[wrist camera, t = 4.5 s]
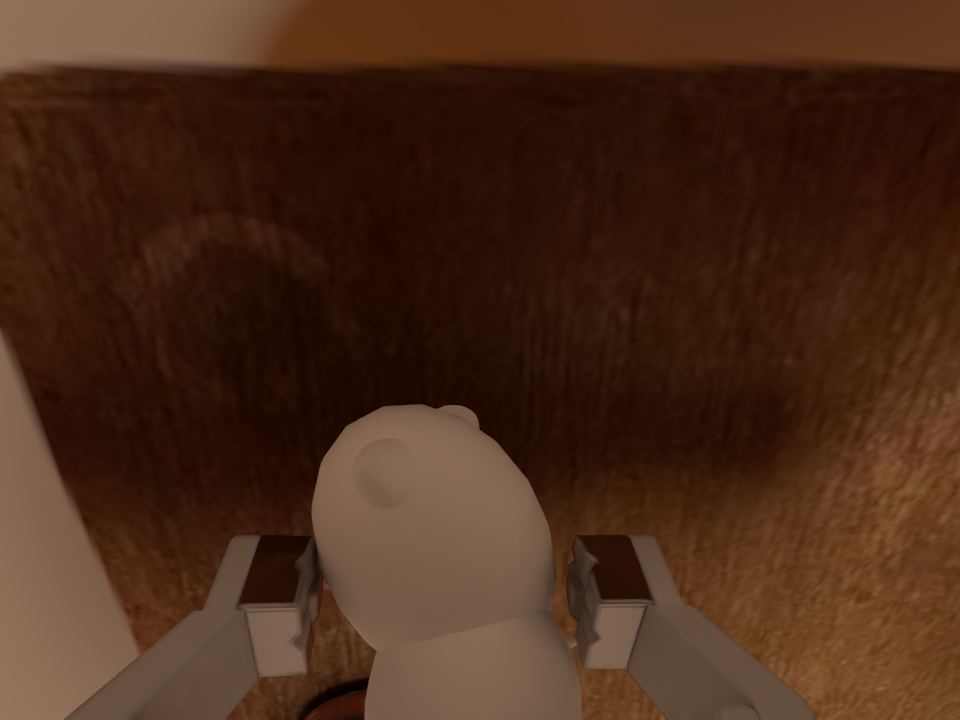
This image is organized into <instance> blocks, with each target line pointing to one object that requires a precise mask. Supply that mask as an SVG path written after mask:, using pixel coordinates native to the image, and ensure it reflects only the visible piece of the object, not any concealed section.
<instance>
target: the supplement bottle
mask: <svg viewBox="0 0 960 720" xmlns="http://www.w3.org/2000/svg"><path fill="white" fill-rule="evenodd" d="M366 694H367V689H361V690H357V691H353V692H350V693H348V694H344V695H341V696H338V697H336V698H333V699H331V700H329V701H327V702H325V703H323V704H321V705H320V706H318V707H317V708H315V709H314V710H313V711H311V712H310V713H309V714H308V715H307V716H306V717H305V718H304V720H364V717H365V700H366Z"/></svg>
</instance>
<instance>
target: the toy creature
mask: <svg viewBox="0 0 960 720" xmlns="http://www.w3.org/2000/svg"><path fill="white" fill-rule="evenodd" d="M311 515H312V522H313V529H314V536H315V541H316V549H317V556H318V561H319V565H320V567H321V570H322V572H323V574H324V576H325V578H326V581H327V583H328V585H329V587H330V590H331V592H332V594H333V596H334V598H335V601H336V603H337V604H338V606H339V608H340V610H341V612H342V613H343V614H344V615H345V617H346V618H347V619H348V620H349V622H350V623H351V624H352V625H353V626H354V628H355V629H356V630H357V631H358V633H359V634H360V635H361V636H362V638H363V639H364V640H365V641H366V642H367V643H368V644H369V645H370V646H371V647H373V648H374V649H375V650H376V651H377V652H376V656H375V659H374V662H373V666H372V670H371V674H370V678H369V682H368V688H367V694H366V700H365V717H364V720H582V707H581V690H580V683H579V677H578V672H577V668H576V664H575V661H574V657H573V654H572V651H571V649H570V648H571V647H573V646H575V645H577V642H576V638H573V637H569V636H565V635H564V634H563V632H562V631H561V629H560V627H559V626H558V624H557V622H556V621H555V619H554V618H553V616H552V615H551V613H550V612H551V607H552V600H553V594H554V587H555V580H556V568H555V561H554V554H553V548H552V541H551V535H550V529H549V525H548V523H547V520H546V518H545V516H544V513H543V511H542V509H541V507H540V505H539V502H538V500H537V498H536V496H535V494H534V492H533V489H532V487H531V485H530V483H529V481H528V479H527V478H526V477H525V476H524V474H523V473H522V472H521V471H520V470H519V468H518V467H517V466H516V465H515V464H514V462H513V461H512V460H511V459H510V458H509V456H508V455H507V454H506V453H505V452H504V450H503V449H502V448H501V447H500V445H499V444H498V443H497V442H496V441H495V440H493V439H492V438H491V437H489V436H488V435H486V434H485V433H483V432H482V431H481V430H479V422H478V418H477V417H476V415H475V413H473V412H472V411H471V410H470V409H468V408H466V407H463V406H458V405H448V406H443V407H441V408H438V409H435V408H432V407H429V406H425V405H422V404H417V405H399V406H383V407H381V408H379V409H377V410H376V411H374V412H372V413H370V414H368V415H366V416H364V417H362V418H360V419H358V420H357V421H355V422H353V423H351V424H349V425H348V426H346V427H345V429H344V430H343V431H342V433H341V434H340V436H339V437H338V438H337V440H336V441H335V442H334V444H333V445H332V447H331V448H330V449H329V451H328V452H327V453H326V455H325V456H324V458H323V460H322V462H321V464H320V469H319V473H318V478H317V483H316V487H315V492H314V497H313V501H312V512H311Z"/></svg>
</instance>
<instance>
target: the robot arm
mask: <svg viewBox="0 0 960 720" xmlns="http://www.w3.org/2000/svg"><path fill="white" fill-rule="evenodd" d="M572 552H573V556H574V561H573V562H572V563H570V564H569V565H568V572H567V581H566V592H567V600H568V606H569V611H570V615H571V616H572V617H573V618H574V619H575V620H576V621H577V622H578V625H577V630H576V634H575V638H576V642H577V646H578V650H579V655H580V659H581V663H582V667H583V669H628V670H627V672H628V673H629V674H630V676H631V677H632V678H633V679H634V680H635V682H636V683H637V684H638V685H639V687H640V688H641V689H642V690H643V691H644V693H645V694H646V695H647V696H648V697H649V699H650V700H651V701H652V702H653V703H654V705H655V706H656V707H657V708H658V709H659V711H660V712H661V713H662V714H663V715H664V717H665V718H666V719H667V720H816V718H815V716H814V715H813V713H812V711H811V709H810V707H809V705H808V704H807V702H806V700H805V699H804V698H803V697H802V696H801V695H799V694H798V693H797V692H796V691H795V690H793V689H792V688H791V687H790V686H789V685H787V684H786V683H785V682H784V681H783V680H781V679H780V678H779V677H778V676H777V675H775V674H774V673H773V672H772V671H771V670H769V669H768V668H767V667H766V666H765V665H763V664H762V663H761V662H760V661H759V660H757V659H756V658H755V657H754V656H753V655H751V654H750V653H749V652H748V651H747V650H745V649H744V648H743V647H742V646H741V645H739V644H738V643H737V642H736V641H735V640H733V639H732V638H731V637H730V636H729V635H727V634H726V633H725V632H724V631H723V630H722V629H720V628H719V627H718V626H717V625H716V624H714V623H713V622H712V621H711V620H710V619H708V618H707V617H706V616H705V615H704V614H702V613H701V612H700V611H699V610H698V609H696V608H695V607H694V606H693V605H684V603H683V601H682V598H681V596H680V594H679V591H678V589H677V587H676V584H675V582H674V580H673V577H672V575H671V573H670V571H669V568H668V566H667V564H666V561H665V559H664V557H663V554H662V552H661V550H660V548H659V545H658V543H657V541H656V538H654V537H653V536H652V535H576V537H575V539H574V541H573V546H572ZM322 590H323V573H322V570H321V567H320V565H319V563H318V556H317V549H316V541H315V536H287V535H235V536H234V537H233V539H232V540H231V541H230V542H229V545H228V547H227V550H226V552H225V555H224V557H223V560H222V562H221V565H220V567H219V570H218V572H217V575H216V577H215V579H214V582H213V584H212V587H211V589H210V592H209V594H208V597H207V599H206V602H205V604H204V607H203V609H202V610H197V611H192V612H191V613H190V614H189V615H188V616H186V617H185V618H184V619H183V620H182V621H181V622H179V623H178V624H177V625H176V626H175V627H173V628H172V629H171V630H170V631H169V632H167V633H166V634H165V635H164V636H163V637H161V638H160V639H159V640H158V641H157V642H155V643H154V644H153V645H152V646H151V647H150V648H148V649H147V650H146V651H145V652H144V653H142V654H141V655H140V656H139V657H138V658H136V659H135V660H134V661H133V662H132V663H130V664H129V665H128V666H127V667H126V668H125V669H123V670H122V671H121V672H120V673H119V674H117V675H116V676H115V677H114V678H113V679H111V680H110V681H109V682H108V683H107V684H105V685H104V686H103V687H102V688H101V689H99V690H98V691H97V692H96V693H95V694H94V695H92V696H91V697H90V698H89V699H88V700H86V701H85V702H84V703H83V704H82V705H80V706H79V707H78V708H77V709H76V710H74V711H73V712H72V713H71V714H70V715H68V716H67V717H66V718H65V719H64V720H226V719H227V717H228V716H229V715H230V714H231V713H232V711H233V710H234V709H235V708H236V707H237V705H238V704H239V703H240V702H241V700H242V699H243V698H244V697H245V696H246V694H247V693H248V692H249V691H250V689H251V688H252V687H253V686H254V685H255V683H256V682H257V681H258V677H270V676H290V675H307V672H308V667H309V662H310V657H311V653H312V648H313V643H314V635H313V626H312V624H313V623H314V622H315V621H316V620H317V619H318V618H319V612H320V607H321V600H322Z"/></svg>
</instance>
